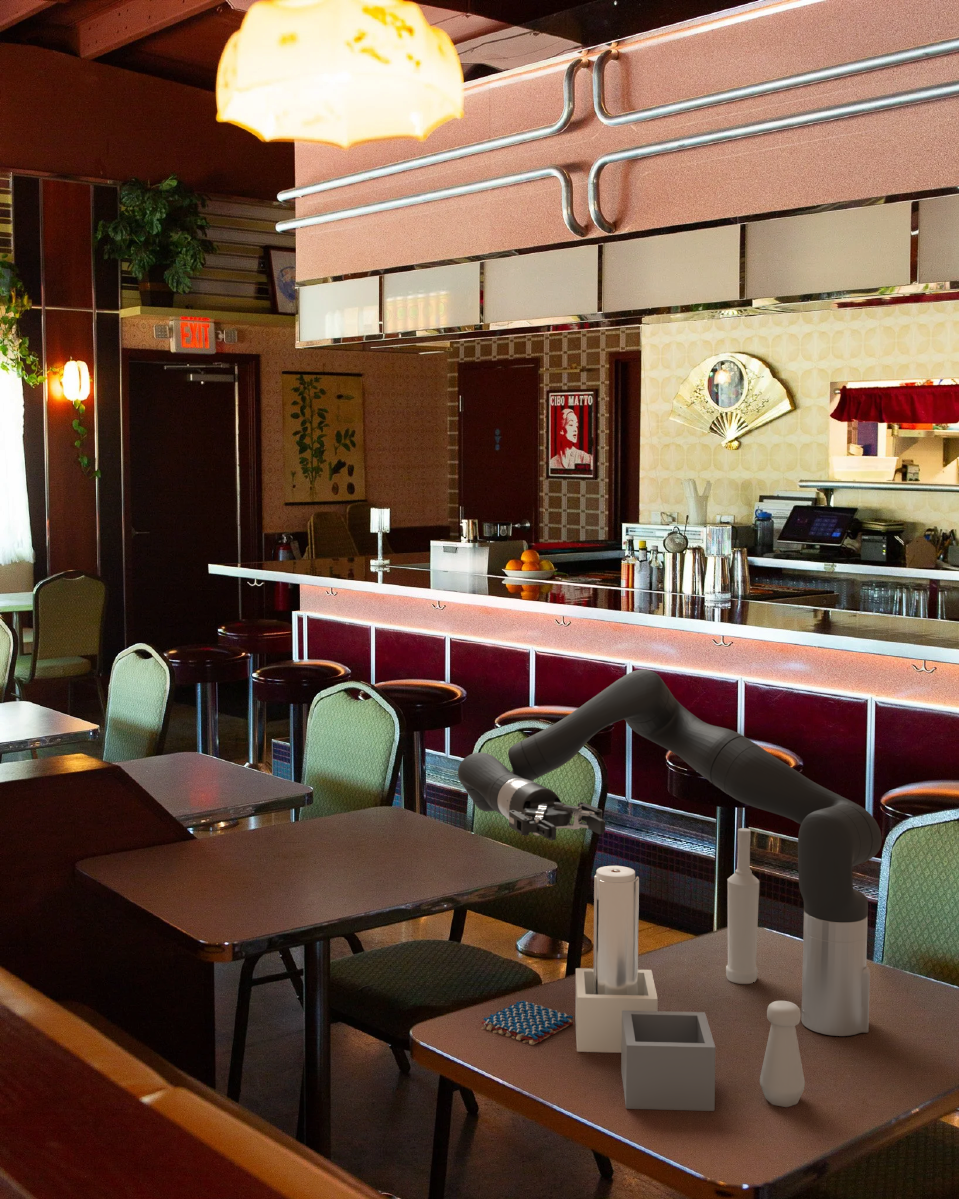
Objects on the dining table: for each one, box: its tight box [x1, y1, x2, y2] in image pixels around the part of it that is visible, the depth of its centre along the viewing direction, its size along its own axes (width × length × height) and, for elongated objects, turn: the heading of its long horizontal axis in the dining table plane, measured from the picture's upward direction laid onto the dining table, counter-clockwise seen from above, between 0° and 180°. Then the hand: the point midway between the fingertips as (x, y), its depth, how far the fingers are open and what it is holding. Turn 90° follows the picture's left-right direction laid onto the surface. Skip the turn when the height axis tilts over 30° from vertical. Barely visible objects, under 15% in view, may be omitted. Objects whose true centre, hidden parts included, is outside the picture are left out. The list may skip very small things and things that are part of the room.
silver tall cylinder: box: [593, 865, 640, 995], centre depth 191 cm, size 6×6×25 cm
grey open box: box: [620, 1010, 716, 1112], centre depth 174 cm, size 11×11×8 cm
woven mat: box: [481, 1000, 574, 1046], centre depth 195 cm, size 10×11×2 cm
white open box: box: [574, 967, 659, 1054], centre depth 191 cm, size 11×11×8 cm
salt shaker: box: [759, 1000, 806, 1108], centre depth 171 cm, size 6×6×13 cm
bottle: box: [725, 827, 760, 985], centre depth 213 cm, size 5×5×25 cm
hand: (578, 830), depth 198 cm, fingers open, 8 cm apart
